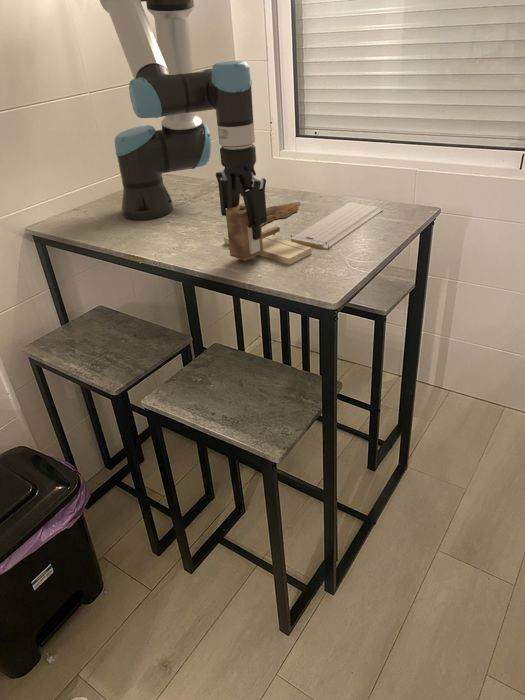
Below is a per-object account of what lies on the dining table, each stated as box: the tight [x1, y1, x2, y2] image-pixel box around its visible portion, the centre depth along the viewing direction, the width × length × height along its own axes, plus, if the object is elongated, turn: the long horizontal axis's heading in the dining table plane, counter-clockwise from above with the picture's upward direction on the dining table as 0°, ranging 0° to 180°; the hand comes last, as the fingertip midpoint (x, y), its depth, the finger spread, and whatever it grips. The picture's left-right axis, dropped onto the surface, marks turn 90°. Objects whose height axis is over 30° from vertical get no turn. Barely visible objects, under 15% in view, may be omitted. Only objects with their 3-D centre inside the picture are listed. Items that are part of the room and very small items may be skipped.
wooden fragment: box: [261, 201, 301, 228], centre depth 151 cm, size 26×11×1 cm, turn 132°
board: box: [223, 235, 313, 266], centre depth 131 cm, size 22×8×2 cm, turn 46°
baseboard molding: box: [290, 202, 381, 251], centre depth 140 cm, size 31×3×12 cm
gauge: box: [225, 202, 281, 262], centre depth 124 cm, size 5×14×12 cm, turn 136°
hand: (246, 248), depth 124 cm, fingers closed on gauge, 5 cm apart
